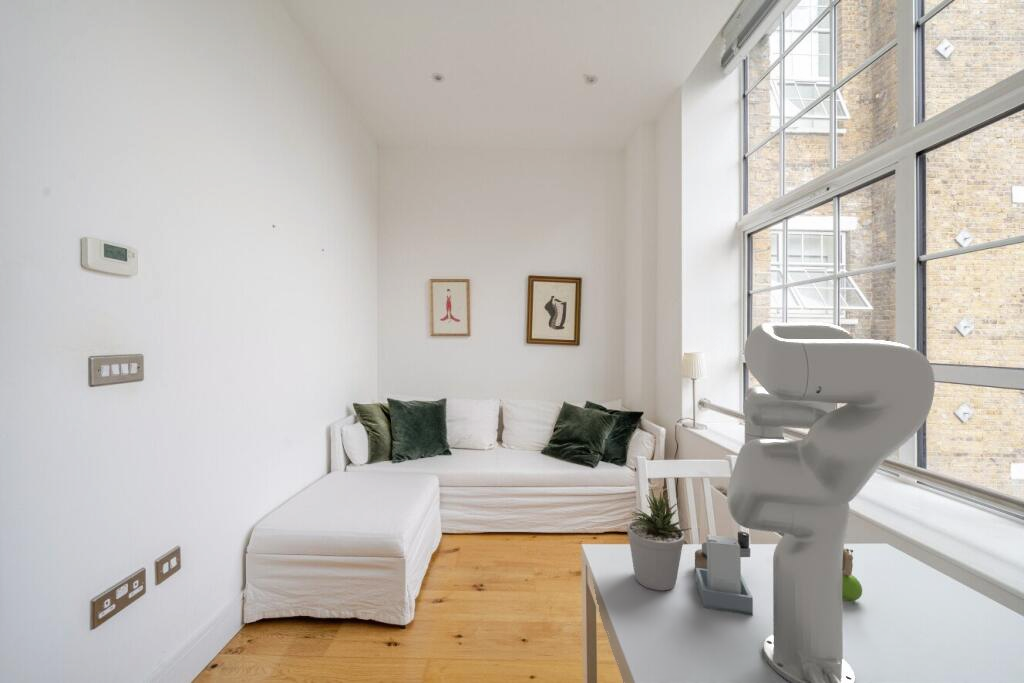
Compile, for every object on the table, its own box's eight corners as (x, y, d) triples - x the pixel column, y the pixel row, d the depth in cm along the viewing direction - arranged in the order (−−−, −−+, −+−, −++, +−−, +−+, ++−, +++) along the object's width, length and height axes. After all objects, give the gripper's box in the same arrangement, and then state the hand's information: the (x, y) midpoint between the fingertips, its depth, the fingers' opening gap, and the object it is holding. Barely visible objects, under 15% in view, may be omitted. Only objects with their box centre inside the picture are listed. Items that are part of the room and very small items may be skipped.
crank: (708, 561, 96) (708, 539, 96) (697, 550, 101) (697, 530, 101) (755, 559, 96) (755, 538, 97) (741, 549, 101) (741, 529, 102)
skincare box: (736, 593, 90) (736, 536, 90) (741, 605, 85) (741, 546, 85) (705, 588, 91) (705, 532, 92) (709, 599, 87) (709, 541, 87)
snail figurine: (833, 604, 87) (833, 546, 87) (827, 588, 93) (827, 534, 93) (867, 612, 84) (866, 552, 85) (858, 595, 90) (858, 540, 90)
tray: (752, 615, 83) (752, 597, 83) (702, 607, 85) (702, 590, 85) (740, 589, 92) (740, 573, 92) (695, 583, 94) (695, 567, 94)
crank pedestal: (736, 585, 93) (736, 568, 93) (697, 580, 95) (697, 562, 96) (727, 566, 102) (727, 550, 102) (692, 561, 104) (692, 545, 104)
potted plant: (699, 597, 89) (699, 504, 89) (635, 596, 89) (635, 502, 89) (677, 567, 101) (677, 484, 102) (620, 565, 102) (621, 483, 102)
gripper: (808, 447, 89) (808, 532, 89) (741, 433, 102) (741, 507, 102) (789, 452, 86) (789, 540, 86) (722, 437, 99) (722, 513, 99)
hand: (763, 522), depth 94 cm, fingers closed
